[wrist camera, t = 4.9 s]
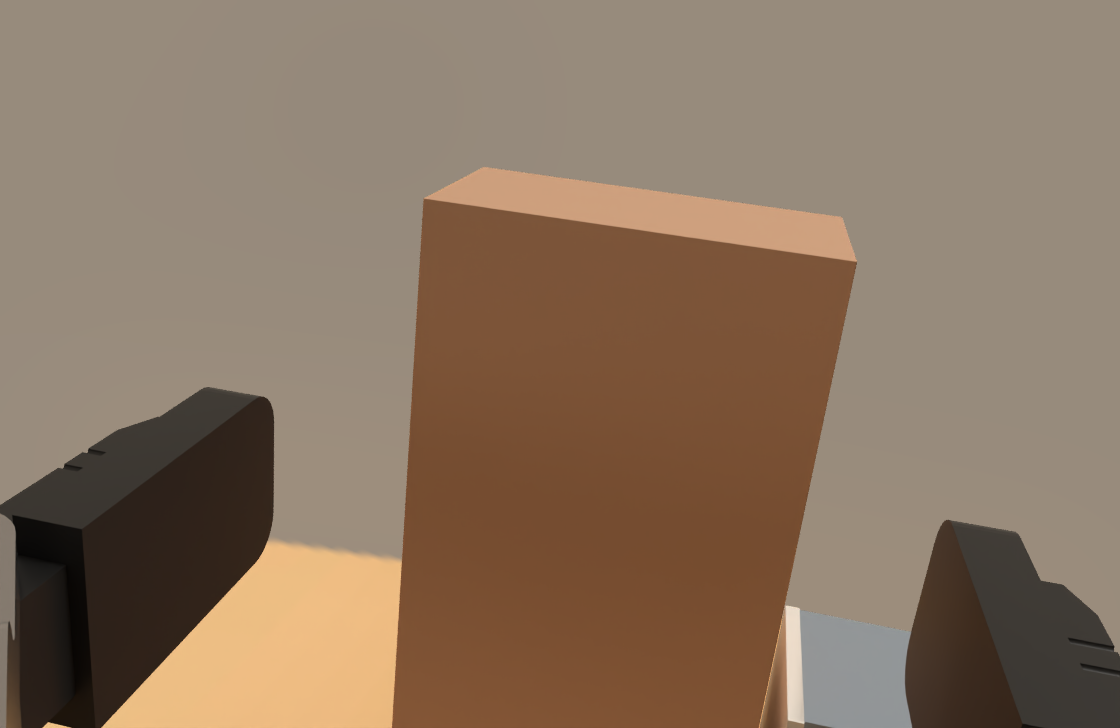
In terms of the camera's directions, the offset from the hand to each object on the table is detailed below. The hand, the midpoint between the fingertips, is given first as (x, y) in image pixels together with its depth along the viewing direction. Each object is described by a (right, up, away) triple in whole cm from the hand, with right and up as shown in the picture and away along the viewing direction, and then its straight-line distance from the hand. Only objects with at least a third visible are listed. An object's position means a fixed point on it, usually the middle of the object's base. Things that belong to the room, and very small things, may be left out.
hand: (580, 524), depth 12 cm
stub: (-1, -10, +7) cm, 12 cm away
